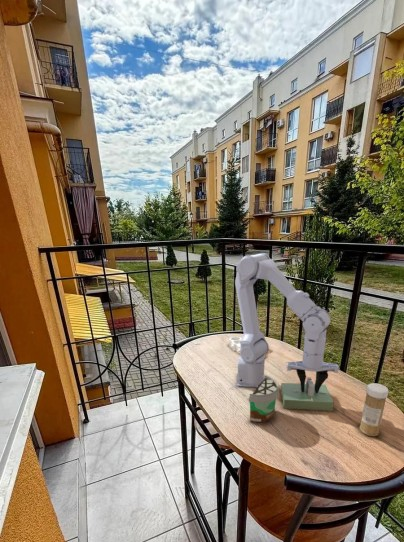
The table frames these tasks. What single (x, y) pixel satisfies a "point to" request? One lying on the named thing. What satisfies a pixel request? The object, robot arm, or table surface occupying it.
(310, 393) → the tap handle
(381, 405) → the sprinkles bottle
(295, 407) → the plate
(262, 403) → the food container
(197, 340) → the table surface
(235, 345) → the cream bumpy slab
